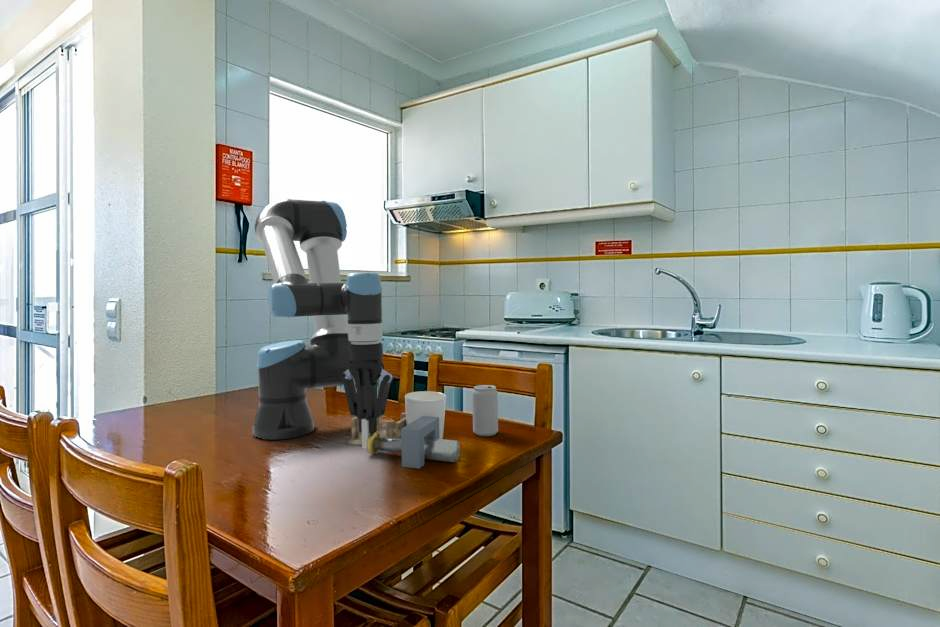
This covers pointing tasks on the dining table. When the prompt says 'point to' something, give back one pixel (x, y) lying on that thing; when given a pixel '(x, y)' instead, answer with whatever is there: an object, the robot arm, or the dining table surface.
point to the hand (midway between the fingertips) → (368, 446)
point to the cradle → (378, 429)
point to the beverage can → (485, 410)
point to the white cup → (425, 407)
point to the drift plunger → (383, 444)
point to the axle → (441, 449)
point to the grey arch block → (417, 440)
